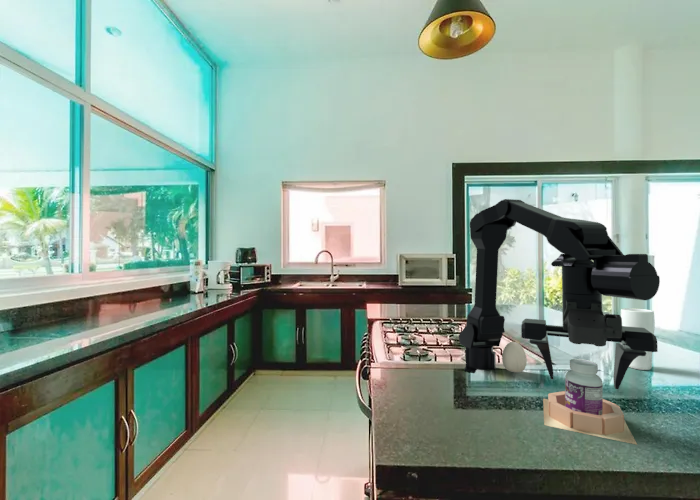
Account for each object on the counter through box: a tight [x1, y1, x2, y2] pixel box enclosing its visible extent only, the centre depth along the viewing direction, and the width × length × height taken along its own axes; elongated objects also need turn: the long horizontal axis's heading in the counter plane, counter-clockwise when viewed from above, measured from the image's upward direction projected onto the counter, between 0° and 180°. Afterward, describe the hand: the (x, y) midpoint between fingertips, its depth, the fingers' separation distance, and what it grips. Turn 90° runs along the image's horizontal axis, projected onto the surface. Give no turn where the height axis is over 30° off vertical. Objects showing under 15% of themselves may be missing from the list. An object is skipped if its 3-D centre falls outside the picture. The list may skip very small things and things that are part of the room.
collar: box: [547, 390, 625, 435], centre depth 58 cm, size 10×10×2 cm
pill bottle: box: [564, 358, 604, 415], centre depth 58 cm, size 5×5×10 cm
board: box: [542, 398, 638, 446], centre depth 58 cm, size 12×12×1 cm
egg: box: [501, 341, 528, 373], centre depth 83 cm, size 6×6×8 cm
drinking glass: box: [620, 307, 656, 371], centre depth 88 cm, size 7×7×15 cm
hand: (582, 383), depth 58 cm, fingers open, 9 cm apart
